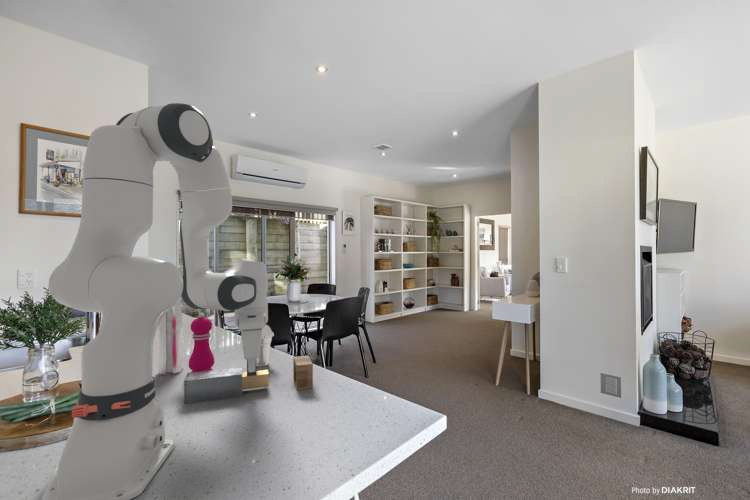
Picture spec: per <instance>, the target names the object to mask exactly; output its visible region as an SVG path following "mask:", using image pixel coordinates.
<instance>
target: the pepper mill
mask: <svg viewBox="0 0 750 500" xmlns="http://www.w3.org/2000/svg"><path fill="white" fill-rule="evenodd" d="M197 316H198V317H197V318H195V319H194V320H193V321H192V322H191V323H190V331H191V332H192V333H193V334H192V339H193V340H194V341H193V342H194V344H193V350H192V351H191V354H190V356H189V360H188V368H189V369H190V370H191V372H200V371H209V370H214V369H213V366H214V365H215V357H214V354H213V352H212V349H211V347H210V338H211V332H210V331H211V330H212V328H213V322H212V320H211V319H210V318H208V317H205V313H204V312H199V313H198V315H197Z"/></svg>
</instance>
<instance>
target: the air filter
mask: <svg viewBox="0 0 750 500" xmlns="http://www.w3.org/2000/svg"><path fill="white" fill-rule="evenodd" d="M182 300H183V298H182V296H181V297H180V299H179V300H178V302H177V303H176V304H175V306H173V307H172V308H171V309H170V310H169V311H167V312H166V313H165V315H164V316H163V317H162V319H161V321H160V323H159V325H158V327H157V330H158V374H159V375H160V376H171V375H175V374H176V375H177V374H179V373H180V372H182V370H183V356H182V355H183V345H182V344H183V331H182V330H183V329H182V326H183V325H182V324H183V322H182V315H183V314H182V310H183V309H182Z"/></svg>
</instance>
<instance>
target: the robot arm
mask: <svg viewBox="0 0 750 500" xmlns="http://www.w3.org/2000/svg"><path fill="white" fill-rule="evenodd" d="M213 143H214V141H213V136H212V129H211V127H210V124H209V122H208V120H207V119H206V117H205V115H204V114H203V113H202V112H201V111H200V110H199V109H198V108H197V107H195V106H193V105H191V104H187V103H182V102H175V103H174V102H173V103H168V104H166V105H158V106H149V107H145V108H141V109H140V110H137V111H135V112H131V113H128V114H127V113H126V114H125V115H124V116H122V117H121V118H120V119H119V120H118V121H117V122H116V123H115V124H105V125H103V126H99V127H97V128H95V129H94V130H93V131H92V132H91V133H90V136H89V140H88V143H87V145H86V146H87V147H86V151H85V156H84V160H83V168H82V169H83V170H82V192H81V193H82V194H81V197H82V198H81V214H80V216H81V217H80V223H79V227H78V229H77V232H76V233H77V234H76V237H75V239H74V241H73V244H72V246H71V249H70V250H69V252H68V254H67V256H66V258H64V260H63V261H62V262H60V264H58V266H56V267H55V268H54V270H52V272H51V274H50V276H49V278H48V290H49V294H50V295H51V297H52V298H53V299H54V301H55V302H57V303H59V304H60V305H62V306H65V307H67V308H70V309H73V310H77V311H79V312H85V313H87V312H89V313H102V317H101V318H102V320H101V322H100V323H101V324H100V327H99V330H98V332H97V334H96V336H95V337H94V338H92V339H91V340H89V341H88V342H87V343H86V344H85V345H84V347H83V348H82V350H81V355H80V358H81V359H80V361H81V368H80V369H81V389H80V390H79V392H78V396H77V397H78V399H77V401H76V404H75V405H74V406H73V407H72V410H71V417H72V419H73V423H72V426H71V428H70V432H69V434H68V436H67V440H66V442H65V445H64V448H63V451H62V454H61V456H60V459H59V461H58V463H57V465H56V468H55V470H54V471H53V474H52V476H51V478H50V480H49V483H48V484H47V486H46V489H45V491H44V492H43V495H42V497H41V499H40V500H132V499H134V498H135V497H138V496H140V495H141V494H142V493H143V491H144V490H145V489H146V487H147V486H148V485H149V483H150V482H151V480H152V479H153V478H154V476H155V475H156V473H157V472H159V471H158V470H159V469H160V468H161V467H162V465H163V463H164V462H166V460H167V458H168V457H169V455H170V454H171V452H173V450H174V449H175V447H176V444H175V441H174V439H170V438H166V437H167V436H166V422H165V419H166V418H165V408H164V406H163V405H162V404H160V403H159V402H158V401H157V400H156V398H155V397H156V387H157V385H156V384H157V383H156V380H155V377H154V376H153V353H154V351H153V350H154V341H155V340H154V339H155V336H156V332H157V330H158V325H159V323H160V321H161V319H162V317H163V316H164V315H165V313H166V312H167V311H169V310H170V309H171V308H172V307H173V306H175V304H176V303H177V302H178V300H179V299H180V297H181V299H182V300H183V303H185V305H186V306H188V307H189V308H191V309H194V310H213V311H225V312H230V311H234V325H236V326H237V328H238V330H239V331H240V333H241V335H240V336H241V341H242V351H243V353H242V354H243V357H244V360H245V361H247V360H248V371H249V372H255V365H256V359H258V358H259V356H260V349H261V339H262V331H263V328H265V324H266V325H267V323H268V322H269V303H268V298H267V294H268V292H269V284H268V283H269V280H268V271H267V267H266V264H265V262H263V261H261V260H259V259H250V258H241V259H238V260H237V261H236V264H234V265H233V266H232V267H230V268H229V269H227V270H225V271H223V272H213V271H212V270H211V269H210V266H209V254H208V237H209V235H210V233H211V232H212V231H213V230H215V229H216V228H217V227H219V226H221V225H222V224H224V222H225V221H226V220H228V219H229V216H231V214H232V210H233V196H232V191H231V190H232V189H231V188H230V181H229V176H228V173H227V169H226V166H225V164H224V160H223V158H222V155H221V153H220V151H219V149H217V148H216V147H215V146H213V145H214V144H213ZM164 161H165V162H169V164H170V165H171V166H172V168H174V170H175V172H176V174H177V180H178V186H179V192H180V199H181V205H182V207H181V208H182V212H181V213H182V215H181V218H180V224H179V237H180V239H179V241H180V251H181V260H182V261H181V263H182V273H181V271H180V269H179V268H178V267H177V266H176V264H174V263H172V262H170V261H166V260H162V259H160V258H159V259H158V258H154V257H150V256H132V255H133V253H134V249H135V246H136V244H137V242H138V240H140V238H141V236H143V235H144V234H146V233H147V232H148V231H149V230H150V229H151V227H152V225H153V220H154V168H155V165H156V163H157V162H164Z"/></svg>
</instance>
